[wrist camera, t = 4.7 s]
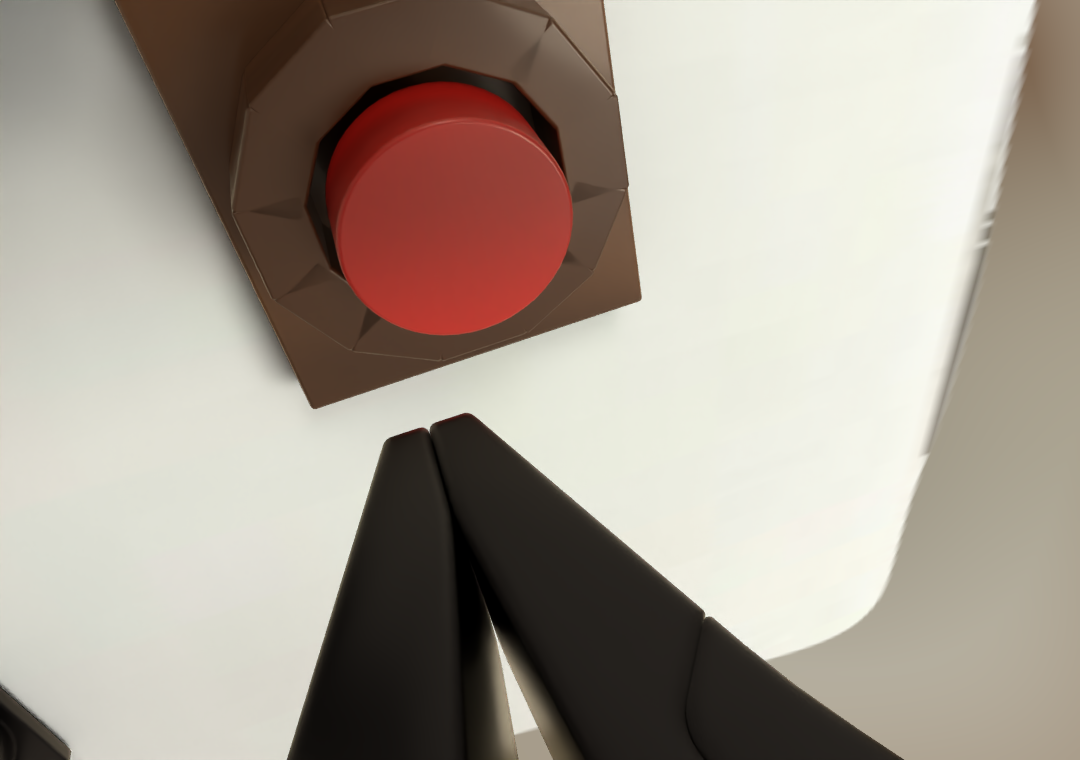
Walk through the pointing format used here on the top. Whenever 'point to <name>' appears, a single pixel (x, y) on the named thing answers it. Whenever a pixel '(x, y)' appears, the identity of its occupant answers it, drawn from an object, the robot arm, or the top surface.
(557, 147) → the switch block
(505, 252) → the button
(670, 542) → the top surface
